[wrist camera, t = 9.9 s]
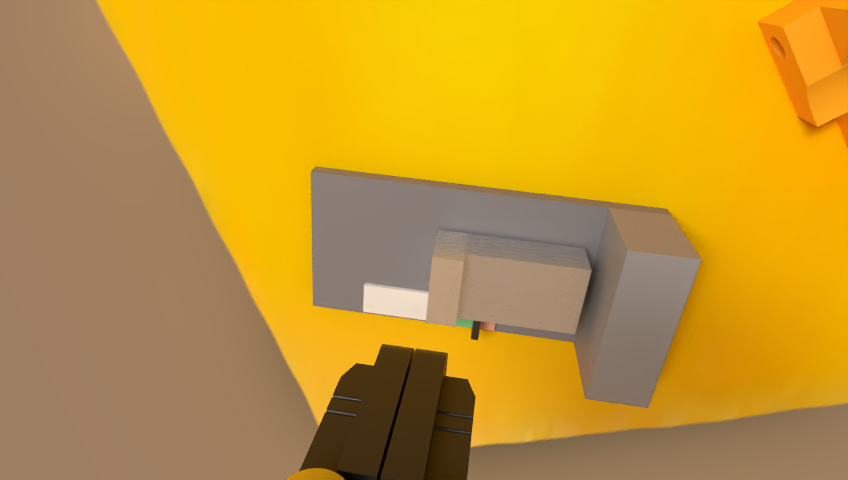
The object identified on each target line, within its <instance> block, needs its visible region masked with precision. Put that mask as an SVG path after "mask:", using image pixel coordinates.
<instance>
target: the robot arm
mask: <svg viewBox="0 0 848 480" xmlns="http://www.w3.org/2000/svg"><path fill="white" fill-rule="evenodd" d="M447 357H448V353H444V352H436V351H429V350H422V349H416V350H415V352H414V348H407V347H400V346H393V345H386V344H383V345H382V346H381V348H380V351H379V354H378V356H377V359H376V362H375V364H374V366H372V365H365V364H358V363H356V364H355V365H354V366H353V367H352V368H350V369H349V370H348V371H347V372H346V373H345V374H344V375H343V376H341V378H340V380H339V382H338V385H337V387H336V389H335V391H334V394H333V398H331V401H330V403H329V405H328V407H327V411H326V413H325V414H324V416H323V419H322V421H321V423H320V426H319V428H318V430H317V432H316V435H315V437H314V439H313V442H312V444H311V446H310V448H309V451H308V453H307V455H306V458H305V460H304V462H303V465H302V467H301V469H300V470H299V472H297V473H294V474H293V475H291V476H290V477H288V478H287V479H286V480H467V473H468V463H469V454H470V444H471V434H472V424H473V415H474V405H475V395H474V393H473V391H472V388H471V386H470V384H469V381H468V379H462V378H455V377H448V376H446V369H447Z"/></svg>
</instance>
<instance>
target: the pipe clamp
mask: <svg viewBox="0 0 848 480" xmlns="http://www.w3.org/2000/svg"><path fill="white" fill-rule="evenodd" d="M758 23H759V25H760V28H761V30H762V32H763V35H764V37H765V40H766V42H767V44H768V47H769V49H770V51H771V54H772V56H773V58H774V61H775V63H776V66H777V68H778V70H779V73H780V75H781V77H782V80H783V82H784V85H785V87H786V89H787V92H788V94H789V96H790V99H791V101H792V103H793V106H794V108H795V111H796V113H797V115H798V117H799V118H801V119H803V120H805V121H807V122H809V123H811V124H813V125H815V126H817V127H819V126H821V125H823V124H825V123H827V122H829V121H831V120H833V119H835V118H837V121H838V124H839V126H840V129H841V131H842V134H843V136H844V139H845V141H846V144H847V146H848V0H794V1H792V2H790V3H789V4H787V5H785V6H784V7H782V8H780V9H778V10H777V11H775V12H773V13H772V14H770V15H768V16H767V17H765V18H763V19H761V20H760V21H758Z"/></svg>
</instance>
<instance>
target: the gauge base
mask: <svg viewBox="0 0 848 480" xmlns="http://www.w3.org/2000/svg"><path fill="white" fill-rule="evenodd" d="M311 204H312V269H313V306H319V307H326V308H333V309H341V310H348V311H355V312H362V313H369V314H377V315H384V316H391V317H398V318H405V319H412V320H420V321H426V313H427V303H428V293H429V283H430V273H431V264H432V256H433V251H434V247H435V242H436V238H437V234H438V230H445V231H453V232H461V233H469V234H477V235H485V236H492V237H500V238H508V239H516V240H524V241H532V242H540V243H548V244H556V245H563V246H571V247H579V248H585V250H586V253H587V257H588V260H589V263H590V266H591V270H592V271H591V275H590V279H589V283H588V286H587V290H586V294H585V298H584V302H583V306H582V310H581V314H580V317H579V321H578V325H577V329H576V333H575V334H568V333H561V332H554V331H546V330H539V329H532V328H525V327H517V326H510V325H503V324H496V323H488V322H481V323H480V329H484V330H491V331H499V332H506V333H513V334H520V335H527V336H535V337H542V338H549V339H556V340H563V341H571V342H574V344H575V349H576V355H577V360H578V365H579V370H580V375H581V380H582V385H583V390H584V395H585V399H591V400H598V401H605V402H612V403H618V404H625V405H632V406H639V407H646V408H648V406H649V404H650V401H651V398H652V395H653V393H654V390H655V387H656V384H657V381H658V379H659V376H660V373H661V370H662V368H663V365H664V362H665V359H666V357H667V354H668V351H669V348H670V346H671V343H672V340H673V337H674V334H675V332H676V329H677V326H678V323H679V321H680V318H681V315H682V312H683V310H684V307H685V304H686V301H687V299H688V296H689V293H690V290H691V287H692V285H693V282H694V279H695V276H696V274H697V271H698V268H699V265H700V263H701V258H700V257H699V255H698V254H697V252H696V251H695V249H694V248H693V246H692V245H691V244H690V242H689V241H688V239H687V238H686V236H685V235H684V233H683V232H682V230H681V229H680V227H679V226H678V225H677V223H676V222H675V220H674V219H673V217H672V216H671V214H670V213H669V211H668V210H667V209H662V208H653V207H645V206H637V205H628V204H620V203H612V202H603V201H595V200H587V199H579V198H570V197H562V196H554V195H545V194H537V193H529V192H520V191H512V190H504V189H496V188H487V187H479V186H471V185H462V184H454V183H446V182H437V181H429V180H421V179H413V178H404V177H396V176H388V175H379V174H371V173H363V172H354V171H346V170H338V169H330V168H321V167H315V168H314V169H313V170H312V171H311ZM472 324H473V320H467V319H460V318H456V326H462V327H469V328H472Z"/></svg>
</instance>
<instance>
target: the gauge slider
mask: <svg viewBox="0 0 848 480" xmlns="http://www.w3.org/2000/svg"><path fill="white" fill-rule="evenodd" d="M591 271H592V270H591V266H590V263H589V260H588V257H587V253H586V250H585V248H579V247H571V246H563V245H556V244H548V243H540V242H532V241H524V240H516V239H508V238H500V237H492V236H485V235H477V234H469V233H461V232H453V231H445V230H438V234H437V238H436V242H435V247H434V251H433V256H432V264H431V273H430V283H429V293H428V303H427V313H426V323H432V324H439V325H447V326H454V327H455V326H456V318H460V319H467V320H473V324H472V332H471V339H474V340H478V336H479V329H480V323H481V322H488V323H496V324H503V325H510V326H517V327H525V328H532V329H539V330H546V331H554V332H561V333H568V334H575V333H576V329H577V325H578V321H579V317H580V314H581V310H582V306H583V302H584V298H585V294H586V290H587V286H588V283H589V279H590V275H591Z"/></svg>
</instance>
